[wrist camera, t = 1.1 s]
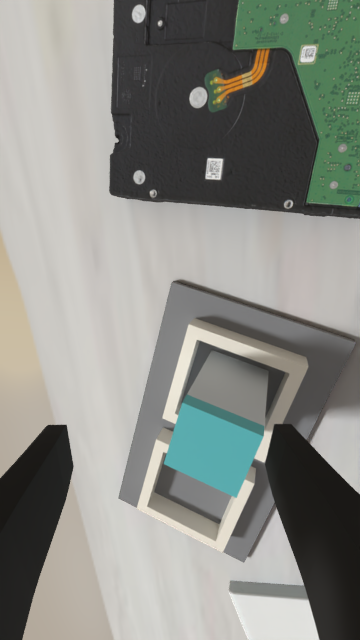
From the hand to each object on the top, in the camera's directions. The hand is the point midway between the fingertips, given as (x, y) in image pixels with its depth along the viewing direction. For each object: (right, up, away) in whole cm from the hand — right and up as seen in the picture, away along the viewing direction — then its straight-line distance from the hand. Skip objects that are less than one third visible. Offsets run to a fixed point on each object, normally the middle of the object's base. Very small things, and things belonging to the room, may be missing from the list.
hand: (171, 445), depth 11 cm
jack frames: (+3, -4, +13) cm, 14 cm away
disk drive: (+4, +16, +7) cm, 18 cm away
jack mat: (+3, -4, +13) cm, 14 cm away
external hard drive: (+11, -24, +17) cm, 31 cm away
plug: (+4, 0, +11) cm, 11 cm away
